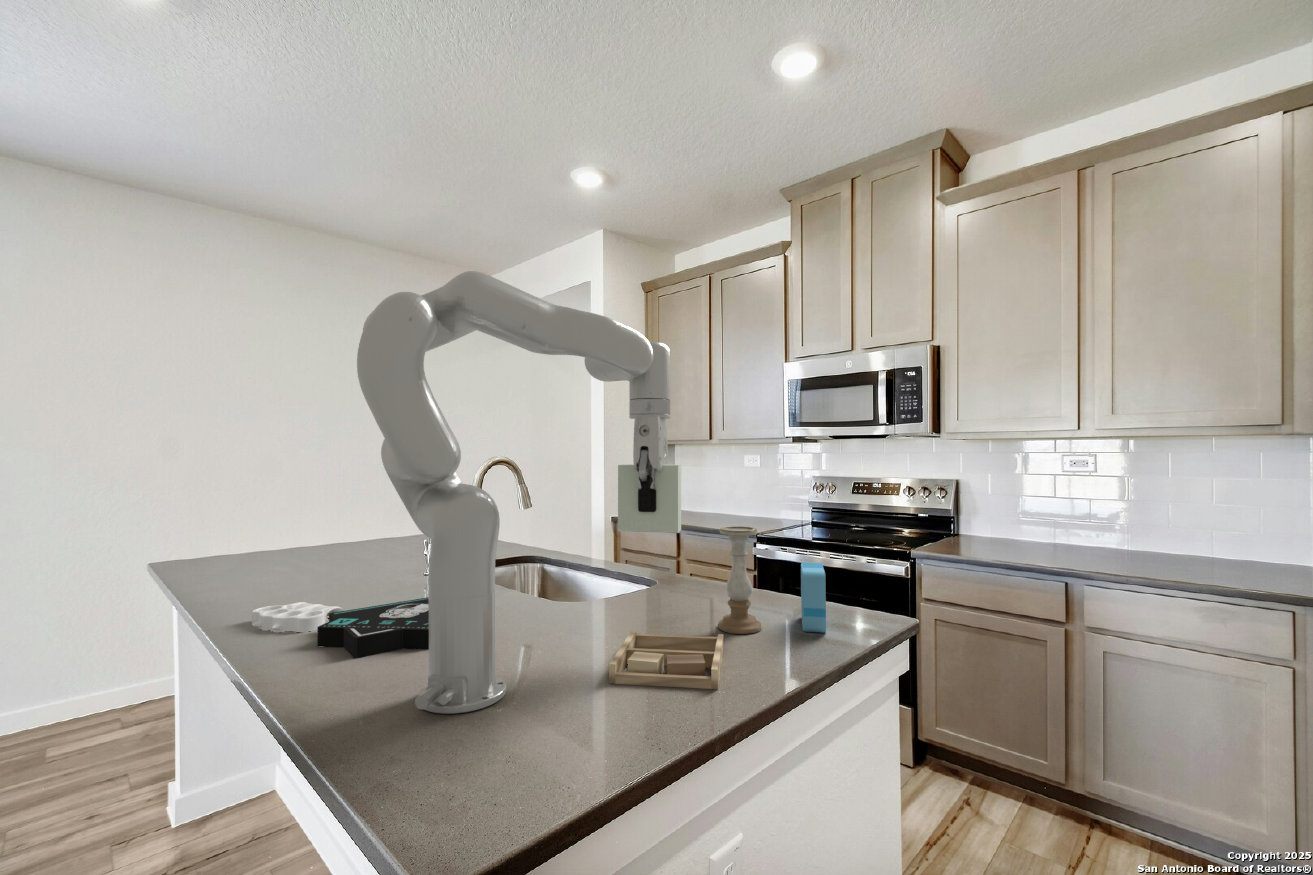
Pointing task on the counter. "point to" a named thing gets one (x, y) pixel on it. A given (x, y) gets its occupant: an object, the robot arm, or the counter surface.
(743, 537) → the candle holder
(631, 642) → the oak rack
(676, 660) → the walnut offcut
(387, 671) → the counter surface
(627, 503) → the sage panel
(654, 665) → the pine offcut
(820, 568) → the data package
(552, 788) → the counter surface
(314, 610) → the white dimpled disc
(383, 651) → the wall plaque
